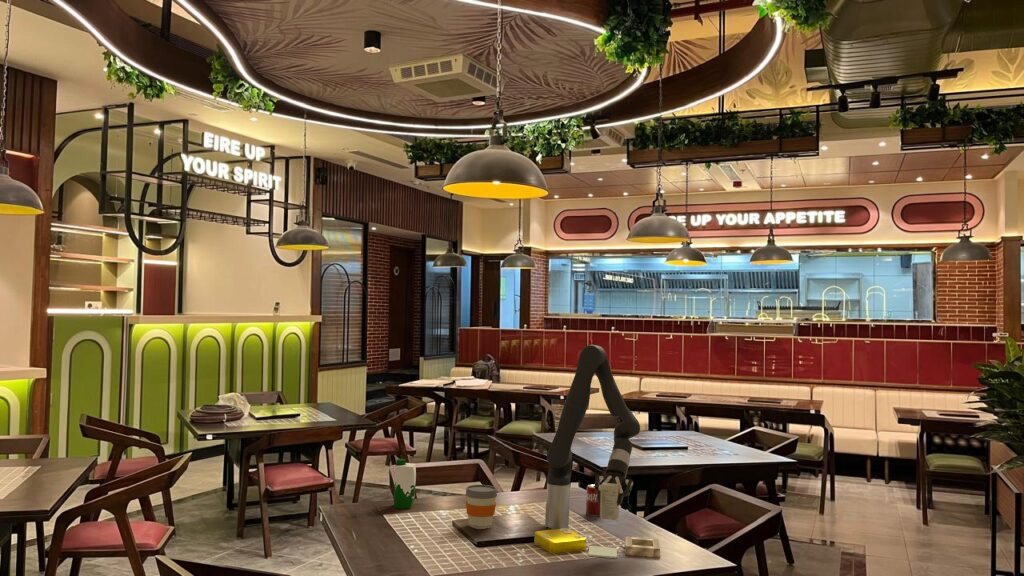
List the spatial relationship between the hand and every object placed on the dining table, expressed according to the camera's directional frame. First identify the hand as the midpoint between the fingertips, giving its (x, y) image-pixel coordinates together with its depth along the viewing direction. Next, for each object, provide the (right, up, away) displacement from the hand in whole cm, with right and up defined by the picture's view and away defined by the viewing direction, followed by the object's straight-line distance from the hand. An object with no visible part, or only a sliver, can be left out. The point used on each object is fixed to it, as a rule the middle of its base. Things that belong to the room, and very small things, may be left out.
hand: (608, 502), depth 255 cm
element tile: (-17, -18, +6) cm, 26 cm away
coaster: (-2, -18, 0) cm, 18 cm away
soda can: (+1, -21, +53) cm, 57 cm away
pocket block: (+13, -19, +3) cm, 23 cm away
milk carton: (-82, -18, +54) cm, 100 cm away
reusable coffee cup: (-47, -18, +28) cm, 58 cm away
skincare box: (0, -6, +1) cm, 6 cm away
